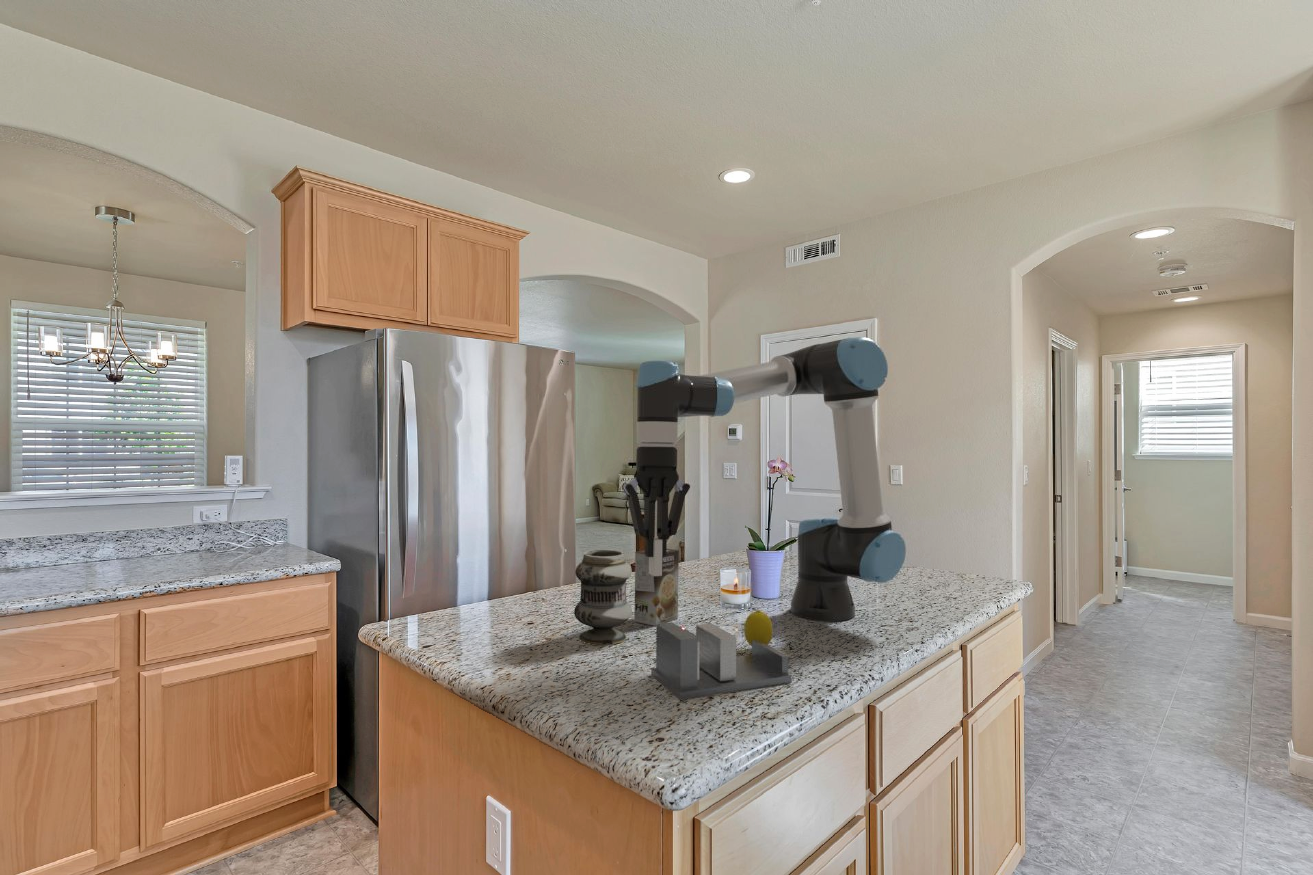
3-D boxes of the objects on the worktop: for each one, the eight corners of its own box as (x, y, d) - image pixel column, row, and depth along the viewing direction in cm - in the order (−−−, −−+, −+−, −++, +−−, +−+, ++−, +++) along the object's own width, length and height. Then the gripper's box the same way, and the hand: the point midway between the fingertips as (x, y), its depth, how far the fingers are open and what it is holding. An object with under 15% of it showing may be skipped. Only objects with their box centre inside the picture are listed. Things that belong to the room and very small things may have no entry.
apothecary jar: (583, 650, 127) (584, 558, 127) (567, 633, 138) (567, 549, 138) (640, 643, 132) (641, 554, 132) (620, 627, 143) (620, 546, 143)
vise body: (754, 660, 121) (754, 611, 122) (791, 682, 110) (791, 628, 111) (651, 675, 113) (651, 622, 113) (680, 700, 102) (680, 641, 102)
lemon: (755, 644, 132) (755, 605, 132) (778, 650, 128) (778, 610, 128) (738, 650, 128) (738, 609, 128) (761, 656, 124) (761, 615, 124)
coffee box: (656, 626, 144) (656, 554, 144) (633, 622, 148) (634, 551, 148) (679, 618, 151) (679, 549, 152) (656, 613, 155) (657, 546, 155)
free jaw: (683, 644, 127) (684, 608, 127) (736, 678, 108) (736, 636, 108) (669, 645, 126) (670, 609, 126) (720, 681, 107) (720, 638, 107)
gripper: (680, 446, 124) (678, 568, 124) (616, 445, 119) (614, 573, 119) (697, 446, 118) (696, 576, 117) (631, 445, 112) (629, 580, 112)
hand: (655, 574), depth 118 cm, fingers closed
